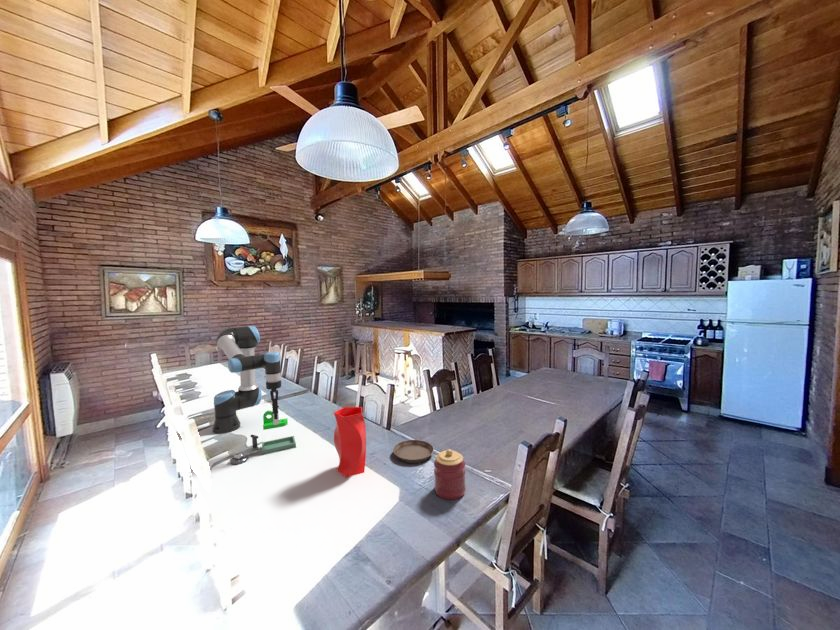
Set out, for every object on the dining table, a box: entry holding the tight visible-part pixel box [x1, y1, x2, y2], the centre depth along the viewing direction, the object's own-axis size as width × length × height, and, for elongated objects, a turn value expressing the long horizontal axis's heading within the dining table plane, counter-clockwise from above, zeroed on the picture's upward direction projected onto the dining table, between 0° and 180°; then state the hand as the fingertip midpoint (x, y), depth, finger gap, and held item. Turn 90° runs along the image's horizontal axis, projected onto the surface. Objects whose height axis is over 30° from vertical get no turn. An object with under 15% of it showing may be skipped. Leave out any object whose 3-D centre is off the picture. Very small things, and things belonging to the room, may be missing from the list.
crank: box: [233, 434, 259, 460], centre depth 168 cm, size 12×5×8 cm, turn 152°
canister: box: [433, 448, 467, 500], centre depth 134 cm, size 13×13×18 cm
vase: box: [333, 406, 367, 478], centre depth 152 cm, size 15×14×28 cm
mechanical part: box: [262, 410, 289, 431], centre depth 176 cm, size 12×6×8 cm, turn 112°
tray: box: [261, 435, 297, 456], centre depth 178 cm, size 11×17×2 cm, turn 117°
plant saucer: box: [392, 439, 435, 464], centre depth 166 cm, size 21×21×3 cm
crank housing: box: [229, 455, 249, 466], centre depth 164 cm, size 8×8×1 cm
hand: (275, 422), depth 176 cm, fingers closed on mechanical part, 6 cm apart
